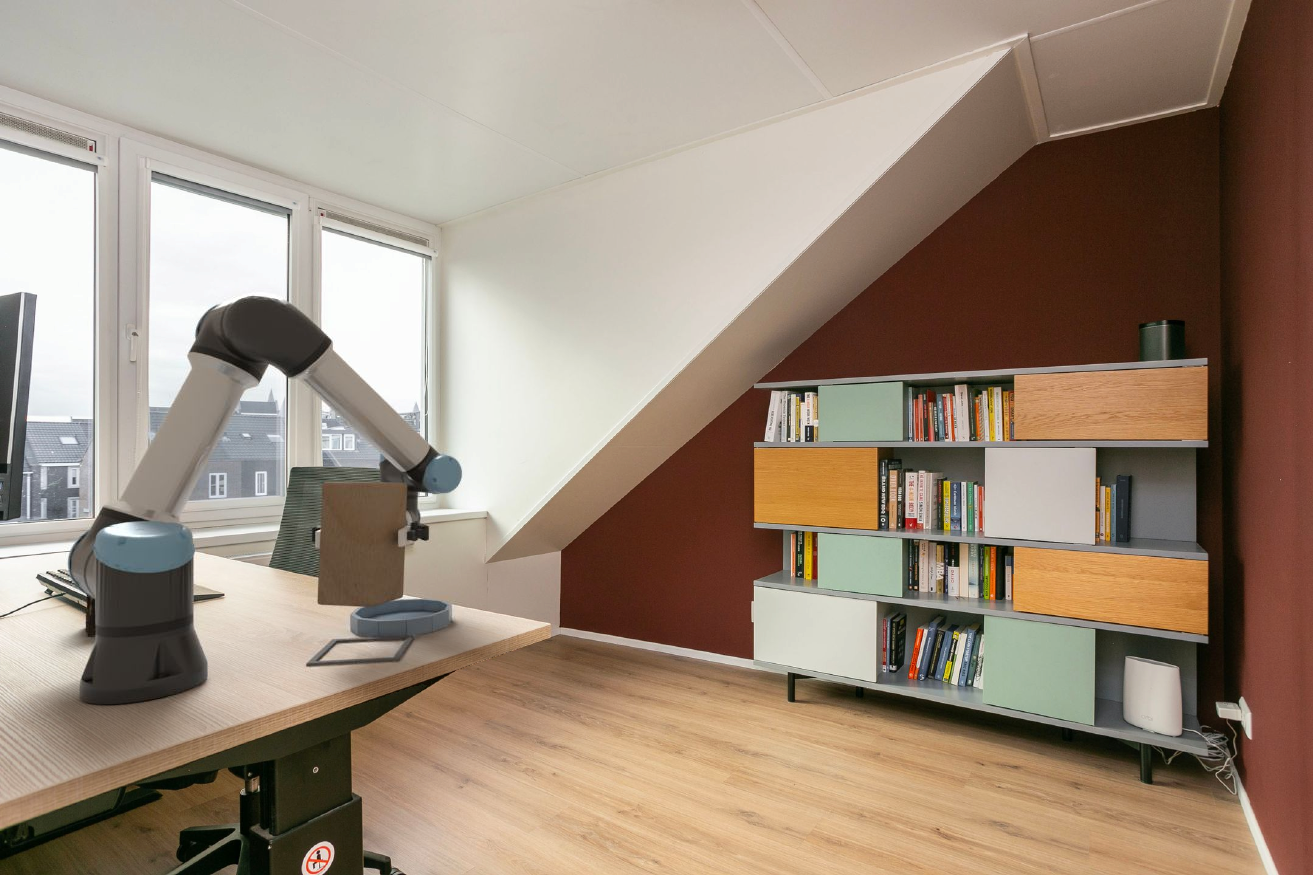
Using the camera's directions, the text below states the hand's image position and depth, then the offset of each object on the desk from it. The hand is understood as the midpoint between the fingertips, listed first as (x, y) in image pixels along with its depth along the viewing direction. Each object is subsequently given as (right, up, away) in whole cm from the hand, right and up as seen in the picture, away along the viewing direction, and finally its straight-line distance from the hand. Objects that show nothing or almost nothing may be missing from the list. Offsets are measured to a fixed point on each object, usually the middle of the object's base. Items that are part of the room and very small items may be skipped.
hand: (359, 539), depth 118 cm
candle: (-55, -20, +20) cm, 62 cm away
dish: (0, -19, +20) cm, 28 cm away
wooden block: (-1, -11, +2) cm, 11 cm away
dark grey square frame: (-1, -19, +3) cm, 20 cm away
